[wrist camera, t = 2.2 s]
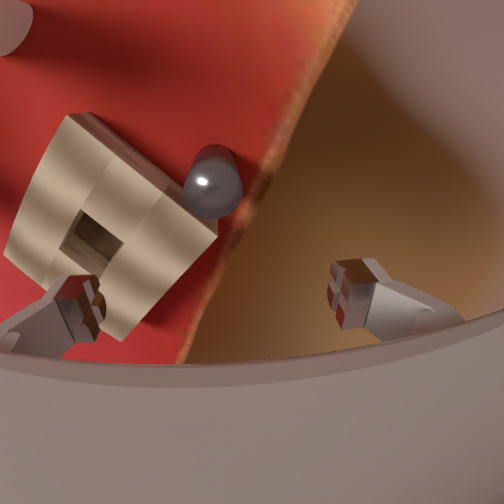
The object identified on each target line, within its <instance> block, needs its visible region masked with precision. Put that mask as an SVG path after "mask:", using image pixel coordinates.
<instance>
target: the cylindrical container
mask: <svg viewBox="0 0 504 504" xmlns="http://www.w3.org/2000/svg"><path fill="white" fill-rule="evenodd" d="M32 20H33V10H32V8H31V6H30V5H29V4H27V3H24V2H22V1H19V0H0V56H5V55H8V54H9V53H11V52H13V51H14V50H15V49H16V48H17V47H18V46H19V45H20V44H21V43H22V41H23V40H24V39H25V37H26V35H27V34H28V32H29V29H30V27H31V24H32Z"/></svg>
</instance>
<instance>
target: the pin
mask: <svg viewBox="0 0 504 504" xmlns="http://www.w3.org/2000/svg"><path fill="white" fill-rule="evenodd" d="M183 194H184V199H185V201H186V204H187V205H188V207H189V208H190V209H191V210H192V211H193V212H194V213H195V214H197V215H198V216H200V217H203V218H207V219H219V218H223V217H225V216H227V215H229V214H231V213H232V212H233V211H234V210H235V209H236V208H237V207H238V205H239V203H240V201H241V199H242V194H243V187H242V182H241V179H240V175H239V172H238V169H237V165H236V162H235V159H234V156H233V154H232V152H231V151H230V150H229V149H228V148H226V147H225V146H222V145H219V144H211V145H208V146H206V147H204V148H202V149H201V150H200V151H199V153H198V154H197V156H196V158H195V160H194V162H193V165H192V167H191V169H190V171H189V174H188V176H187V178H186V181H185V183H184V189H183Z"/></svg>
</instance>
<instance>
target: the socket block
mask: <svg viewBox="0 0 504 504" xmlns="http://www.w3.org/2000/svg"><path fill="white" fill-rule="evenodd" d="M217 237H218V219H207V218H203V217H200V216H198V215H197V214H195V213H194V212H193V211H192V210H191V209H190V208H189V207H188V205H187V204H186V201H185V199H184V194H183V188H182V187H181V186H180V185H179V184H177V183H176V182H175V181H174V180H172V179H171V178H170V177H169V176H167V175H166V174H165V173H164V172H163V171H161V170H160V169H159V168H158V167H156V166H155V165H154V164H153V163H151V162H150V161H149V160H148V159H147V158H145V157H144V156H143V155H142V154H140V153H139V152H138V151H137V150H135V149H134V148H133V147H132V146H130V145H129V144H128V143H127V142H126V141H124V140H123V139H122V138H121V137H119V136H118V135H117V134H116V133H114V132H113V131H112V130H111V129H109V128H108V127H107V126H106V125H104V124H103V123H102V122H101V121H99V120H98V119H97V118H96V117H94V116H93V115H92V114H91V113H89V112H85V113H77V114H69V115H66V117H65V118H64V120H63V122H62V123H61V125H60V127H59V128H58V130H57V132H56V133H55V135H54V137H53V139H52V140H51V142H50V144H49V146H48V148H47V150H46V151H45V153H44V155H43V157H42V159H41V161H40V163H39V165H38V167H37V169H36V171H35V173H34V175H33V178H32V180H31V182H30V184H29V186H28V189H27V191H26V193H25V196H24V198H23V200H22V203H21V205H20V208H19V210H18V213H17V215H16V218H15V221H14V223H13V226H12V229H11V232H10V235H9V238H8V241H7V244H6V247H5V250H4V254H3V255H4V256H6V257H7V258H8V259H9V260H10V261H11V262H12V263H13V264H15V265H16V266H17V267H18V268H19V269H20V270H22V271H23V272H24V273H25V274H26V275H27V276H29V277H30V278H31V279H32V280H34V281H35V282H36V283H37V284H39V285H40V286H41V287H42V288H44V289H45V290H46V291H48V289H49V288H50V287H51V285H52V284H53V283H54V281H55V280H56V278H57V277H58V276H60V275H83V274H95V275H96V276H97V277H98V280H99V283H100V287H99V291H100V292H101V293H102V294H103V295H104V298H105V301H106V307H107V309H106V317H105V319H104V321H103V322H102V323H101V324H99V328H100V329H101V330H103V331H104V332H106V333H108V334H109V335H111V336H112V337H114V338H116V339H117V340H119V341H120V342H122V341H123V340H124V339H125V337H126V336H127V335H128V334H129V333H130V332H131V331H132V329H133V328H134V327H135V326H136V325H137V324H138V323H139V322H140V320H141V319H142V318H143V317H144V316H145V315H146V314H147V313H148V311H149V310H150V309H151V308H152V307H153V306H154V305H155V304H156V303H157V302H158V300H159V299H160V298H161V297H162V296H163V295H164V294H165V293H166V292H167V291H168V289H169V288H170V287H171V286H172V285H173V284H174V283H175V282H176V281H177V280H178V279H179V278H180V276H181V275H182V274H183V273H184V272H185V271H186V270H187V269H188V268H189V267H190V266H191V265H192V264H193V263H194V261H195V260H196V259H197V258H198V257H199V256H200V255H201V254H202V253H203V252H204V251H205V250H206V249H207V248H208V247H209V246H210V245H211V243H212V242H213V241H214V240H215V239H216V238H217Z"/></svg>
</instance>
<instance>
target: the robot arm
mask: <svg viewBox="0 0 504 504" xmlns="http://www.w3.org/2000/svg"><path fill="white" fill-rule="evenodd" d="M330 273H331V275H332V277H333V278H332V279H331V280H330V281H329V283H328V289H327V295H328V301H329V305H330V307H331V309H333V310H334V311H336V319H337V321H338V323H339V325H340V327H341V329H342V330H344V329H352V328H360V327H364V328H365V329H366V330H368V331H369V332H370V333H372V334H373V335H375V336H376V337H377V338H379V339H380V340H381V341H383V343H378V344H372V345H368V346H362V347H356V348H351V349H345V350H339V351H333V352H327V353H319V354H312V355H305V356H297V357H288V358H280V359H269V360H259V361H246V362H232V363H215V364H214V363H213V364H179V365H151V364H117V363H99V362H86V361H74V360H64V359H59V358H61V357H62V356H63V355H64V354H65V353H66V352H67V351H68V350H69V349H70V348H71V347H72V346H73V345H74V344H75V342H89V343H95V341H96V339H97V336H98V334H99V331H100V328H99V324H101V323H102V322H103V321H104V319H105V317H106V309H107V307H106V301H105V298H104V295H103V294H102V293H101V292H100V291H99V287H100V283H99V280H98V277H97V276H96V275H95V274H83V275H60V276H58V277H57V278H56V280H55V281H54V283H53V284H52V285H51V287H50V288H49V289H48V291H47V292H46V294H45V295H44V296H43V298H42V299H41V300H37V301H35V302H34V303H32V304H30V305H29V306H27V307H26V308H24V309H22V310H21V311H19V312H18V313H16V314H14V315H13V316H11V317H10V318H8V319H7V320H5V321H4V322H2V323H0V504H504V309H502V310H499V311H496V312H493V313H491V314H487V315H485V316H481V317H479V318H475V319H472V320H469V321H465V320H464V319H463V318H462V317H461V316H460V315H459V313H458V312H457V311H456V310H455V309H454V308H453V306H452V305H450V304H449V303H446V302H444V301H442V300H440V299H438V298H436V297H433V296H431V295H429V294H427V293H424V292H422V291H420V290H418V289H416V288H414V287H411V286H409V285H407V284H405V283H402V282H400V281H398V280H392V278H391V277H390V276H389V275H388V274H387V273H386V271H385V270H384V269H383V268H382V267H381V266H380V264H379V263H378V262H377V261H376V260H375V259H374V258H372V257H368V258H360V259H349V260H339V261H332V264H331V267H330Z"/></svg>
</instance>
